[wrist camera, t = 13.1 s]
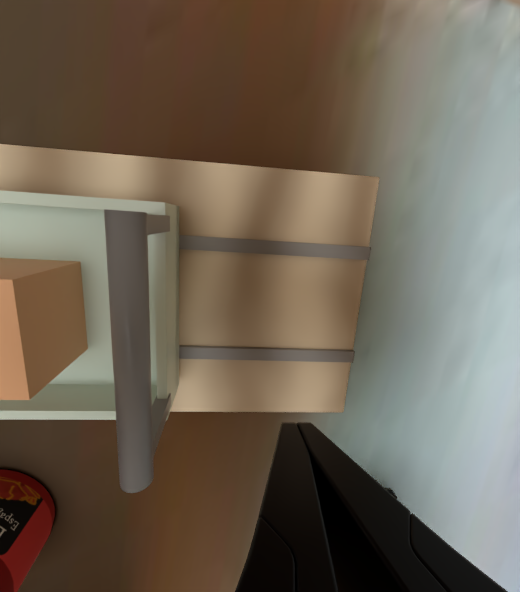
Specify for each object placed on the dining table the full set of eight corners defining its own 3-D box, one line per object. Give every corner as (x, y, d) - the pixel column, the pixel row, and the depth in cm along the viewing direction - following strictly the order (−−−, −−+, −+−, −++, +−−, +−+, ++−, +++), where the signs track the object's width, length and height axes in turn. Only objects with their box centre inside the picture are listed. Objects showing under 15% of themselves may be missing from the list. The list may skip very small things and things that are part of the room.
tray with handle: (187, 207, 17) (139, 193, 8) (185, 380, 20) (148, 503, 11) (-51, 189, 16) (-388, 153, 7) (-18, 377, 18) (-235, 512, 10)
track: (373, 179, 18) (408, 168, 15) (339, 405, 22) (360, 442, 19) (-114, 136, 16) (-220, 111, 12) (-57, 402, 20) (-124, 444, 16)
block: (80, 261, 16) (12, 279, 11) (88, 348, 17) (29, 400, 12) (-23, 256, 15) (-142, 273, 10) (-7, 346, 16) (-108, 399, 12)
